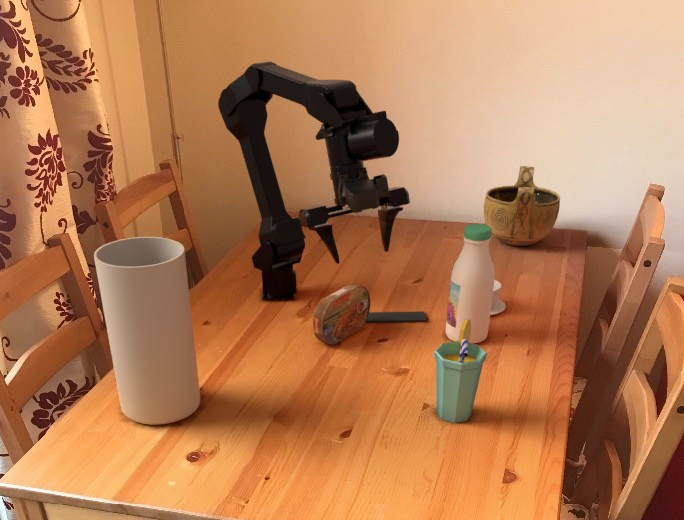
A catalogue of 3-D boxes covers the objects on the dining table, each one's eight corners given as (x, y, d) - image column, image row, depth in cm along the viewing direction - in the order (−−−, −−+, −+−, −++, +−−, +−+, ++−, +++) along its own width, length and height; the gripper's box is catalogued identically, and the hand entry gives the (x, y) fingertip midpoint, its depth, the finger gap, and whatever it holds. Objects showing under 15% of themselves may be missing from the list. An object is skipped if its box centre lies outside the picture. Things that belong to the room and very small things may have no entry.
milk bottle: (492, 331, 148) (506, 223, 136) (480, 348, 143) (494, 236, 131) (452, 324, 151) (462, 217, 139) (439, 340, 145) (449, 230, 134)
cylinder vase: (114, 396, 129) (86, 244, 114) (188, 381, 133) (171, 232, 118) (131, 433, 120) (103, 273, 105) (210, 416, 124) (194, 259, 109)
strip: (363, 322, 152) (363, 320, 151) (362, 314, 155) (362, 312, 155) (426, 321, 152) (426, 319, 152) (423, 313, 155) (423, 311, 155)
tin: (323, 351, 142) (323, 306, 137) (310, 346, 144) (309, 302, 139) (371, 323, 152) (372, 280, 147) (357, 319, 153) (358, 276, 148)
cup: (481, 442, 117) (494, 349, 109) (429, 439, 118) (437, 347, 109) (477, 396, 129) (488, 308, 120) (429, 393, 129) (436, 306, 120)
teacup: (474, 293, 163) (477, 271, 160) (515, 307, 157) (518, 284, 155) (444, 307, 157) (446, 284, 155) (485, 321, 152) (488, 298, 149)
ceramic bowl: (553, 260, 178) (565, 191, 169) (477, 255, 181) (484, 187, 172) (552, 229, 195) (563, 165, 187) (482, 224, 198) (490, 161, 190)
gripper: (305, 175, 126) (324, 274, 132) (414, 151, 129) (428, 248, 135) (289, 176, 136) (308, 268, 142) (391, 153, 139) (405, 244, 145)
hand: (362, 257), depth 141 cm, fingers open, 9 cm apart
